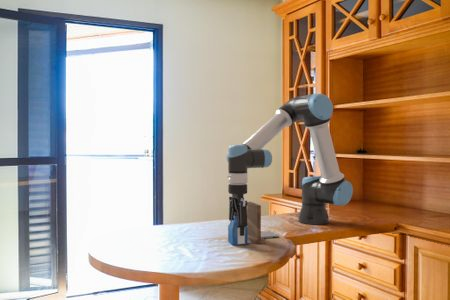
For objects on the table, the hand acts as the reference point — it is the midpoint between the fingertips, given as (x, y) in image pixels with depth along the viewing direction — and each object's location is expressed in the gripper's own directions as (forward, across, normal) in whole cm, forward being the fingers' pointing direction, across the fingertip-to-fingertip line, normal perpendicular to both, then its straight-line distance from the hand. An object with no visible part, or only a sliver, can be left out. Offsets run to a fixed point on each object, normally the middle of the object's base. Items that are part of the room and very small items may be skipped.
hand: (237, 241), depth 157 cm
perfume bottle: (+1, 0, 0) cm, 1 cm away
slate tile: (+1, -8, +15) cm, 17 cm away
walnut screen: (+1, -2, +8) cm, 8 cm away
